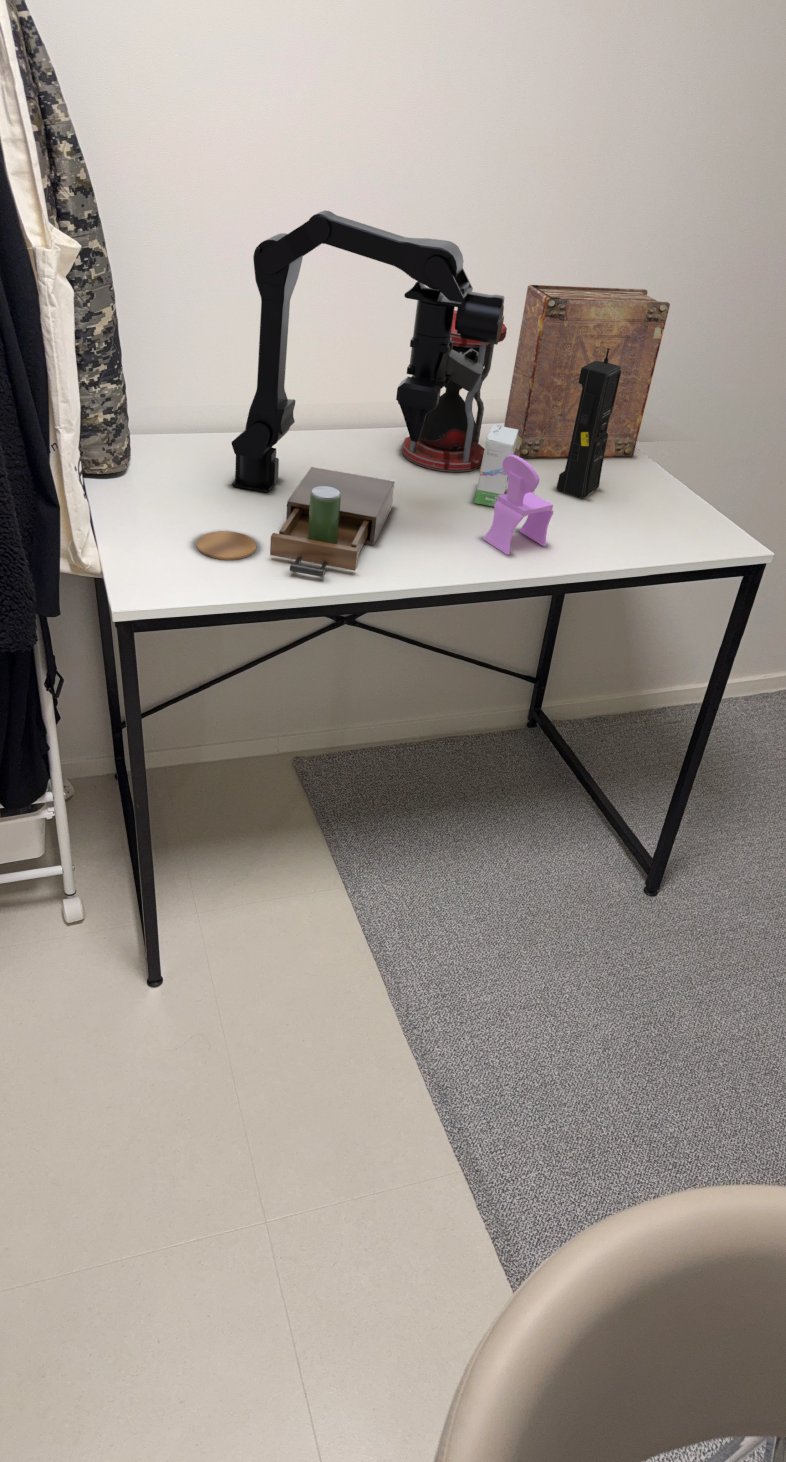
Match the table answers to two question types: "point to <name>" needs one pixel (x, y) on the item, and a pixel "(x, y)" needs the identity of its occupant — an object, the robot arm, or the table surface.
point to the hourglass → (454, 419)
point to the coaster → (226, 545)
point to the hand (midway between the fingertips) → (419, 431)
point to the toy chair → (519, 506)
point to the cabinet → (349, 496)
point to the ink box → (495, 464)
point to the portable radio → (590, 428)
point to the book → (581, 364)
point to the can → (324, 514)
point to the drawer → (319, 543)
